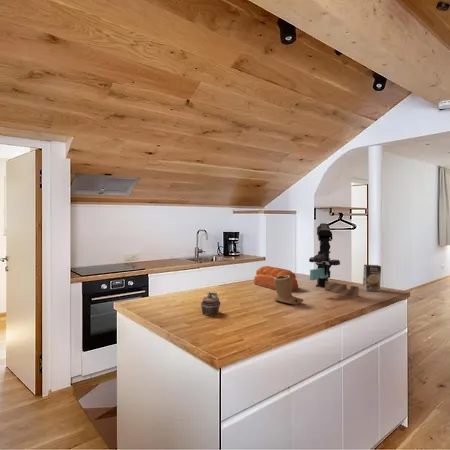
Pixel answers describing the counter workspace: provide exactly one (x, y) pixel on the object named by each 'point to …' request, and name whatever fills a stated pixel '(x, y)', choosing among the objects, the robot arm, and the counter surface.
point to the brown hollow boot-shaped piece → (285, 290)
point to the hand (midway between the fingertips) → (323, 275)
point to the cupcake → (210, 304)
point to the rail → (341, 288)
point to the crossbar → (318, 273)
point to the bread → (268, 274)
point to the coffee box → (372, 278)
